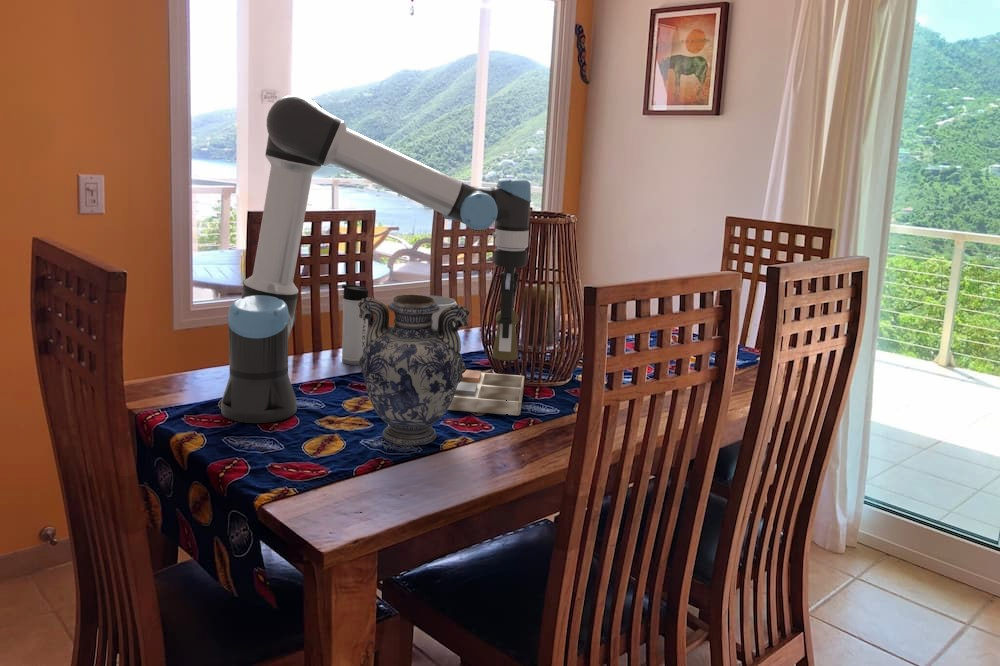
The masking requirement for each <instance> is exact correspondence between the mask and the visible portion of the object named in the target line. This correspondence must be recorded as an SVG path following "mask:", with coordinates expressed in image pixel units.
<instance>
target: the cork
mask: <svg viewBox="0 0 1000 666" xmlns="http://www.w3.org/2000/svg"><path fill="white" fill-rule="evenodd" d="M500 318H501V310H500V311H498V312H497V313H496V316H495V322H496V323H497V321H500ZM518 322H519V314H518V313H517V312H516V311H515V310H514V311H512V337H511V352H505V351H499V337H500V324H497V328H496V334H495V339H494V340H495V341H494V345H493V350H492V355H491V356H492V358H493V359H495V360H499V361H506V362H507V361H515V360H518V358H519V353H518V352H519V351H518V341H517V339H518V338H517V325H518Z"/></svg>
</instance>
